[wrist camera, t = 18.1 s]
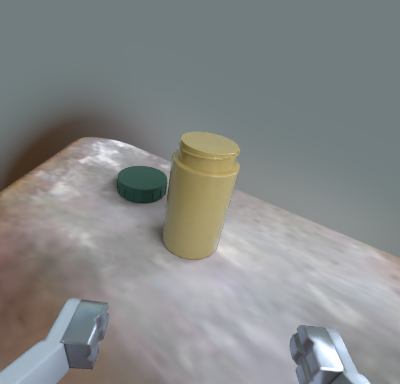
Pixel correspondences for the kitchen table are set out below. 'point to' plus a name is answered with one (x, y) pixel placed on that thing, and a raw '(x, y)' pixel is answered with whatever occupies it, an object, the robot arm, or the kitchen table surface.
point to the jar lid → (141, 184)
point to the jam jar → (199, 193)
